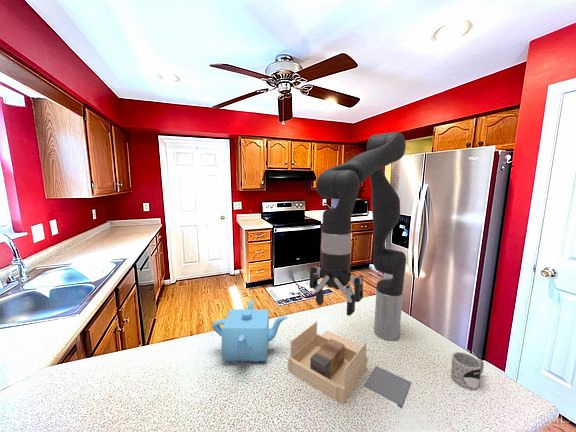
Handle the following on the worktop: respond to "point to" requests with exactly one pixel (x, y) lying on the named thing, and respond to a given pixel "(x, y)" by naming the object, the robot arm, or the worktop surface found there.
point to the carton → (343, 377)
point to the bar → (328, 358)
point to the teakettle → (246, 334)
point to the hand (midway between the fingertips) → (334, 309)
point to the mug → (466, 370)
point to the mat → (388, 385)
